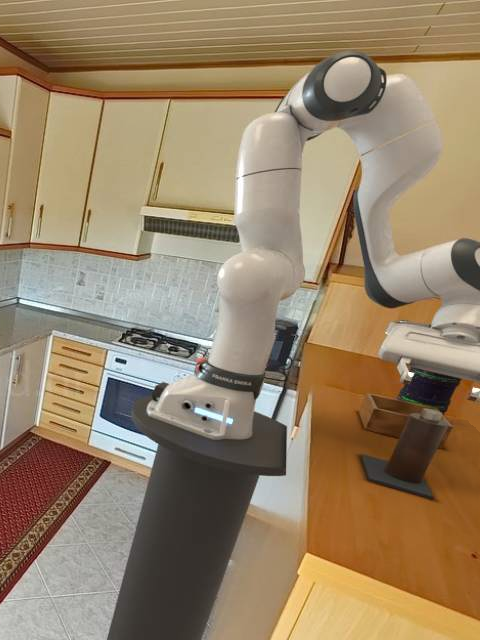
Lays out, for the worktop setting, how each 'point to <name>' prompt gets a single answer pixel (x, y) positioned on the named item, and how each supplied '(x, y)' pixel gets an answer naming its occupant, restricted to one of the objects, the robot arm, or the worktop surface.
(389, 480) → the counter mat
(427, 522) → the worktop surface
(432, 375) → the storage jar
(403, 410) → the brown wooden open box
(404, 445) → the pepper mill
